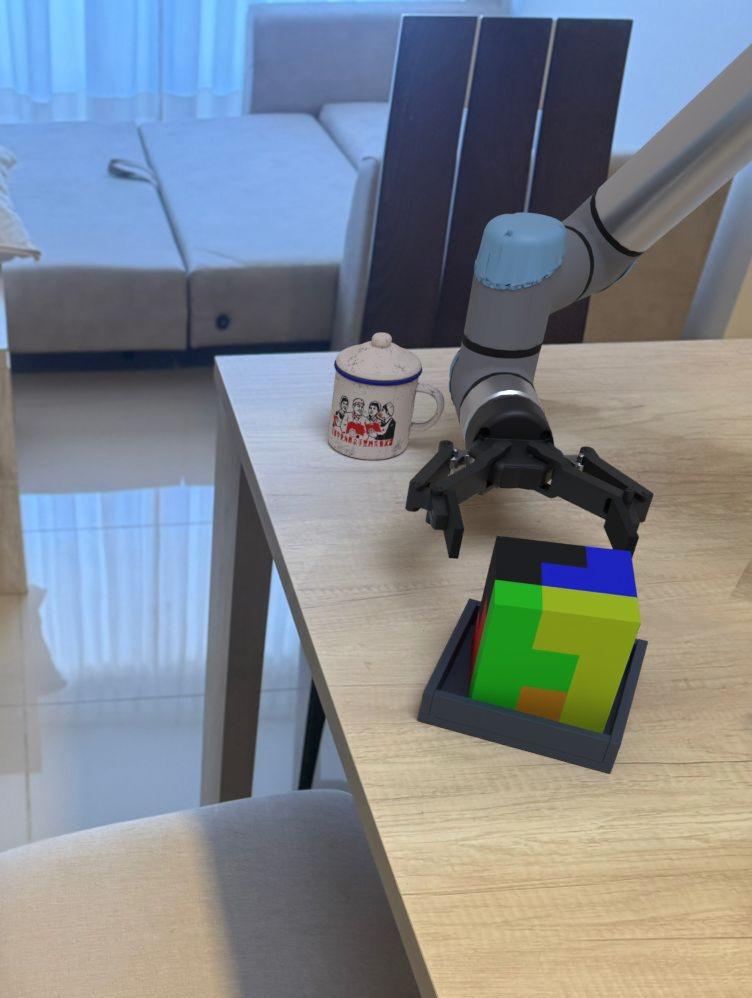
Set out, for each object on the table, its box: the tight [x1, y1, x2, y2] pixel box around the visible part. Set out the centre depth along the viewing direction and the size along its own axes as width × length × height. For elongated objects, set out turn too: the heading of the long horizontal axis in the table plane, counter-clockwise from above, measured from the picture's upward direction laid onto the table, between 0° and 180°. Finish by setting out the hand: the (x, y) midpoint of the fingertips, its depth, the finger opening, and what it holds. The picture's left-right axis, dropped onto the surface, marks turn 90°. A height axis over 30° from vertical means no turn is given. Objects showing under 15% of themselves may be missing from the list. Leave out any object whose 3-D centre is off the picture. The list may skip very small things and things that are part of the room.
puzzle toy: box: [469, 535, 642, 733], centre depth 88 cm, size 10×10×10 cm
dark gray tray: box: [417, 598, 649, 775], centre depth 91 cm, size 15×15×3 cm
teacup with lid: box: [327, 332, 446, 461], centre depth 121 cm, size 12×9×12 cm
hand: (542, 548), depth 92 cm, fingers open, 13 cm apart
